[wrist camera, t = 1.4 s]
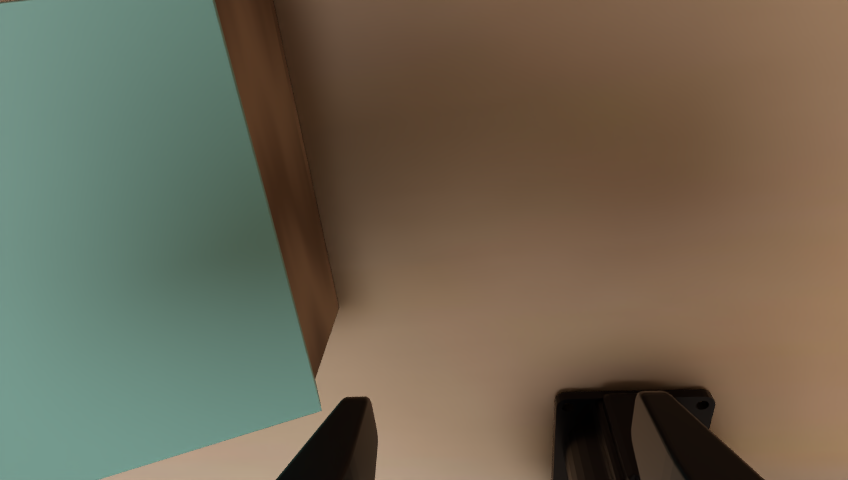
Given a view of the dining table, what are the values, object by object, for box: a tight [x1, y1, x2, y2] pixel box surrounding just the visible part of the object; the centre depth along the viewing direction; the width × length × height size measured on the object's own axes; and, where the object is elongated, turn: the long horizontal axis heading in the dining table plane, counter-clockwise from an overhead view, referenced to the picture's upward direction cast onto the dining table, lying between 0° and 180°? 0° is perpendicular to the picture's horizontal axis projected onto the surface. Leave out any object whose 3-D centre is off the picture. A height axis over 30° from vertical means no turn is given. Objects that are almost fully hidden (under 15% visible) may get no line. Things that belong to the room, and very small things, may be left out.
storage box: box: [215, 0, 339, 378], centre depth 17 cm, size 12×16×4 cm
